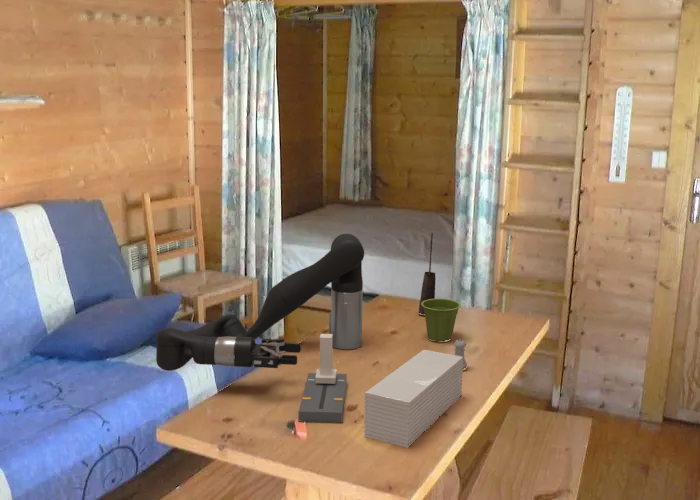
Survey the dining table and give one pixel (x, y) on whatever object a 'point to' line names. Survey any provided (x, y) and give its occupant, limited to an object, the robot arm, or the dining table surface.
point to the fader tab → (326, 361)
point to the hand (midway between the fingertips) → (298, 354)
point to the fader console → (323, 400)
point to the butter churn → (428, 284)
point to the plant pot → (440, 318)
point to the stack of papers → (412, 397)
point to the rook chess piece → (460, 350)
